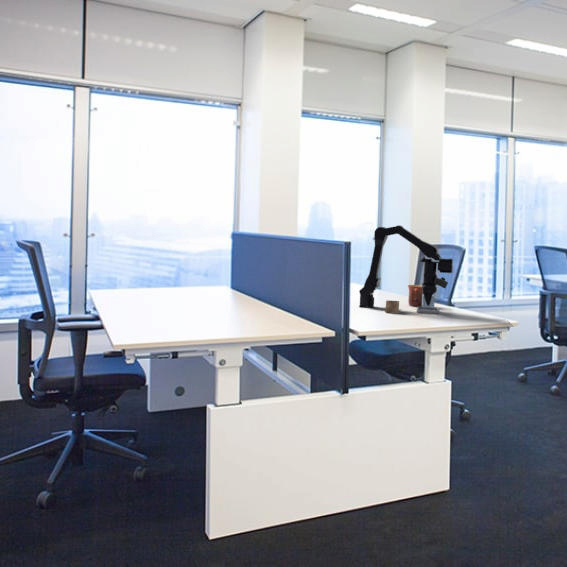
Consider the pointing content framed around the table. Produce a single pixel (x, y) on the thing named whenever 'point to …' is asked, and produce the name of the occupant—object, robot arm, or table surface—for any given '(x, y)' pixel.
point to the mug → (415, 295)
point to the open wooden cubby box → (392, 306)
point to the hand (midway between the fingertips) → (427, 304)
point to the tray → (427, 310)
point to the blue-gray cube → (430, 302)
